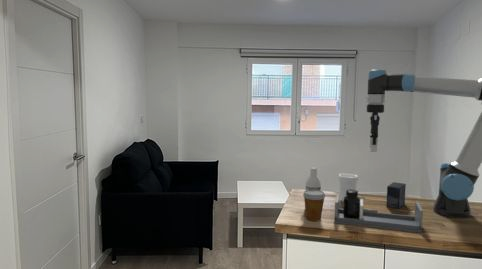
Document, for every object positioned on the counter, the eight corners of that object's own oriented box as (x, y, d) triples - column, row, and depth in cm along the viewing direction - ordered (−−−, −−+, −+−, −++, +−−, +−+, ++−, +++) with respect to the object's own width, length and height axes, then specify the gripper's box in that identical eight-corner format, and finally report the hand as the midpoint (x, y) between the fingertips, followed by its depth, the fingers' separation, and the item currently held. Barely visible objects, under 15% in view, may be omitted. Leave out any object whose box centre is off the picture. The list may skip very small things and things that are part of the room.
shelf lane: (416, 221, 162) (418, 201, 161) (421, 232, 149) (423, 211, 148) (336, 212, 172) (337, 194, 171) (334, 222, 159) (335, 202, 158)
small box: (391, 201, 190) (392, 181, 189) (405, 204, 186) (406, 183, 185) (385, 206, 182) (386, 185, 180) (399, 209, 178) (400, 188, 177)
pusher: (376, 215, 165) (377, 200, 164) (377, 223, 156) (378, 207, 155) (359, 213, 167) (360, 199, 166) (359, 221, 158) (360, 205, 157)
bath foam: (318, 212, 172) (319, 170, 170) (303, 210, 175) (304, 168, 172) (321, 208, 178) (322, 167, 176) (306, 206, 181) (308, 165, 179)
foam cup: (344, 196, 198) (345, 172, 197) (360, 200, 191) (361, 175, 190) (333, 199, 192) (334, 175, 191) (349, 204, 185) (350, 178, 184)
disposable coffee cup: (328, 219, 163) (329, 192, 162) (315, 224, 157) (316, 196, 156) (311, 213, 170) (311, 188, 169) (297, 218, 164) (298, 192, 162)
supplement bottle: (358, 215, 166) (359, 189, 165) (360, 220, 160) (361, 193, 158) (342, 214, 167) (343, 188, 166) (343, 219, 161) (345, 192, 159)
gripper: (366, 102, 184) (364, 145, 187) (367, 104, 161) (365, 153, 163) (382, 103, 182) (380, 146, 184) (386, 105, 158) (383, 154, 161)
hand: (373, 149), depth 174 cm, fingers open, 13 cm apart
